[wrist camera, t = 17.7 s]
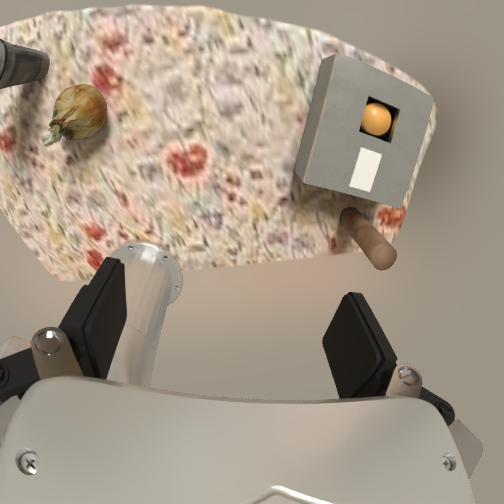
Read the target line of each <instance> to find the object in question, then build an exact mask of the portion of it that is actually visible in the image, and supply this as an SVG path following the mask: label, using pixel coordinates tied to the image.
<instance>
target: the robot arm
mask: <svg viewBox="0 0 504 504" xmlns="http://www.w3.org/2000/svg"><path fill="white" fill-rule="evenodd" d="M166 256H167V257H166ZM182 284H183V274H182V270H181V267H180V265H179V263H178V261H177V260H176V259H175V257H174V256H173V255H172V254H171V253H170V252H169V251H168V250H166V249H165V248H163V247H162V246H160V245H158V244H156V243H153V242H149V241H144V240H133V241H129V242H125V243H124V244H122V245H120V246H119V247H117V248H116V249H115V250H114V252H113V253H112V255H111V256H110V257H106V258H105V260H104V261H103V263H102V264H101V266H100V267H99V269H98V271H97V272H96V274H95V275H94V277H93V279H92V280H91V282H90V284H89V285H84V286H83V287H82V288H81V290H80V291H79V293H78V294H77V296H76V298H75V299H74V301H73V303H72V304H71V306H70V308H69V310H68V311H67V313H66V315H65V317H64V318H63V320H62V322H61V324H60V325H59V327H58V328H56V327H46V328H42V329H40V330H39V331H37V332H36V333H35V334H34V335H33V337H32V339H31V342H29V341H27V340H26V339H23V338H21V337H16V336H13V337H8V338H6V339H4V340H3V341H2V342H1V343H0V504H475V501H474V497H473V493H472V490H471V486H470V482H469V478H470V476H471V474H472V472H473V471H474V469H475V467H476V465H477V463H478V461H479V459H480V457H481V455H482V453H483V446H482V443H481V442H480V440H479V439H478V438H477V437H476V436H475V435H474V434H473V433H472V432H471V431H470V430H469V429H468V428H467V427H466V426H465V425H464V424H463V423H462V422H461V421H460V420H459V419H457V420H456V421H455V420H454V419H455V413H454V410H453V408H452V407H451V405H450V404H449V403H448V402H446V401H445V400H443V399H441V398H440V397H438V396H437V395H435V394H433V393H432V392H430V391H428V390H427V389H425V388H423V387H422V377H421V375H420V373H419V371H418V370H417V369H416V368H414V367H413V366H411V365H409V364H405V363H402V364H399V365H397V364H396V360H397V357H396V355H395V353H394V351H393V349H392V347H391V345H390V343H389V341H388V340H387V338H386V336H385V334H384V332H383V330H382V328H381V327H380V325H379V323H378V321H377V319H376V317H375V316H374V314H373V312H372V310H371V308H370V307H369V305H368V303H367V302H366V300H365V298H364V296H363V295H362V294H361V293H355V292H349V293H348V294H347V295H344V297H343V298H342V300H341V303H340V305H339V307H338V309H337V311H336V313H335V315H334V317H333V319H332V321H331V323H330V325H329V327H328V329H327V331H326V333H325V335H324V337H323V342H322V344H323V347H324V350H325V353H326V356H327V360H328V363H329V366H330V369H331V372H332V375H333V378H334V381H335V384H336V388H337V391H338V395H339V398H340V399H328V400H262V399H242V398H227V397H216V396H205V395H197V394H188V393H181V392H174V391H167V390H161V389H155V388H150V381H151V375H152V370H153V365H154V360H155V355H156V351H157V347H158V342H159V338H160V333H161V329H162V324H163V321H164V316H165V312H166V308H167V306H168V305H169V304H171V303H172V302H173V301H174V300H175V299H176V298H177V297H178V296H179V294H180V291H181V289H182Z"/></svg>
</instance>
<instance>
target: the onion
mask: <svg viewBox="0 0 504 504" xmlns="http://www.w3.org/2000/svg"><path fill="white" fill-rule="evenodd" d="M106 117H107V104H106V101H105V99H104V97H103V95H102V94H101V93H100V91H99V90H98V89H96V88H95V87H93V86H91V85H87V84H81V85H75V86H72V87H69V88H66V89H65V90H64V91H63V92H62V93H61V94H60V95H59V96H58V98H57V100H56V103H55V106H54V111H53V118H52V119H53V120H52V121H51V122H50V123H49V126H50V127H51V128H49V129H48V130H49V131H51V133H50V134H49V135H48V136H47V137H45V138H44V139H43V141H45V142H44V145H45V146H49V145H51V144H53V143H56V142H57V141H58V140H59V141H60V139H61V137H62V135H63V136H65V137H66V138H67V140H68V139H69V140H73V139H80V138H86V137H90V136H92V135H93V134H95V133H96V132H97V131H98V130H99V129H100V128H101V127H102V126H103V124H104V122H105V120H106Z"/></svg>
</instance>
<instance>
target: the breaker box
mask: <svg viewBox="0 0 504 504" xmlns="http://www.w3.org/2000/svg"><path fill="white" fill-rule="evenodd" d="M433 101H434V98H433V97H431V96H429V95H428V94H426V93H424V92H422V91H420V90H419V89H417V88H415V87H413V86H411V85H409V84H407V83H406V82H404V81H402V80H400V79H398V78H396V77H394V76H391V75H389V74H387V73H385V72H383V71H381V70H379V69H376V68H374V67H372V66H370V65H367V64H365V63H362V62H360V61H357V60H355V59H352V58H350V57H347V56H345V55H342V54H339V53H337V54H335V55H332V56H330V57H327V58H324V59H322V63H321V67H320V71H319V75H318V79H317V83H316V87H315V91H314V95H313V99H312V103H311V107H310V111H309V115H308V118H307V122H306V126H305V130H304V134H303V138H302V142H301V145H300V149H299V153H298V157H297V161H296V164H295V168H294V172H295V173H296V174H297V175H298V177H299V178H300V179H301V180H302V181H303V183H305V184H309V185H313V186H318V187H322V188H326V189H330V190H334V191H338V192H342V193H346V194H349V195H353V196H357V197H361V198H364V199H368V200H372V201H375V202H379V203H382V204H385V205H389V206H392V207H396V208H399V209H400V208H401V205H402V203H403V200H404V197H405V194H406V192H407V189H408V186H409V183H410V180H411V177H412V174H413V171H414V168H415V165H416V162H417V159H418V156H419V153H420V149H421V146H422V143H423V139H424V136H425V132H426V129H427V125H428V121H429V117H430V113H431V109H432V105H433ZM366 103H378V104H381V105H383V106H385V107H386V108H387V109H388V111H389V113H390V116H391V125H390V127H389V129H388V131H387V132H386V133H384V134H382V135H373V134H370V133H367V132H364V131H361V130H359V129H360V126H361V122H362V118H363V115H364V111H365V107H366Z"/></svg>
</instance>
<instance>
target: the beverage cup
mask: <svg viewBox="0 0 504 504" xmlns="http://www.w3.org/2000/svg"><path fill="white" fill-rule="evenodd" d="M49 64H50V59H49V56H48V55H47V54H46V53H42V52H40V51H37V50H33V49H30V48H26V47H21V46H17V45H13V44H10V43H8V42H6V41H3V40H2V39H0V89H2V88H6V87H11V86H15V85H20V84H25V83H30V82H33V81H38V80H40V79H41V78H43V77H44V76H45V74H46V73H47V71H48V69H49Z"/></svg>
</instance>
